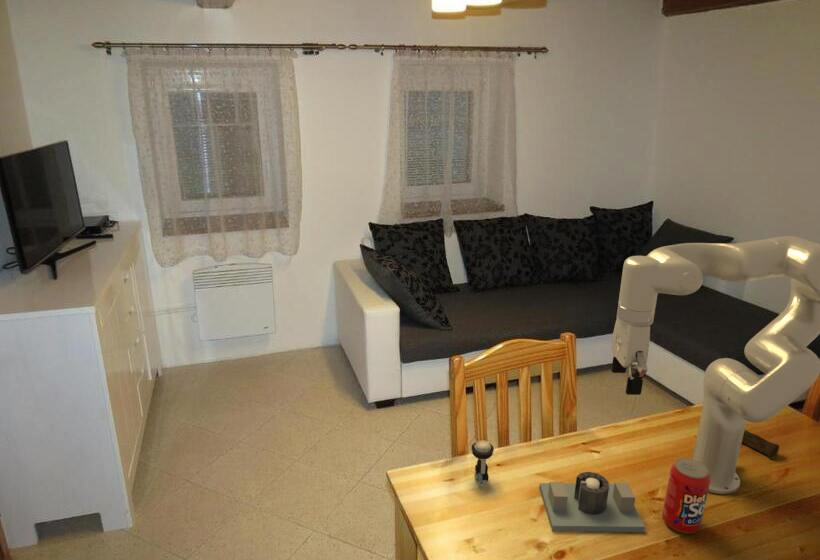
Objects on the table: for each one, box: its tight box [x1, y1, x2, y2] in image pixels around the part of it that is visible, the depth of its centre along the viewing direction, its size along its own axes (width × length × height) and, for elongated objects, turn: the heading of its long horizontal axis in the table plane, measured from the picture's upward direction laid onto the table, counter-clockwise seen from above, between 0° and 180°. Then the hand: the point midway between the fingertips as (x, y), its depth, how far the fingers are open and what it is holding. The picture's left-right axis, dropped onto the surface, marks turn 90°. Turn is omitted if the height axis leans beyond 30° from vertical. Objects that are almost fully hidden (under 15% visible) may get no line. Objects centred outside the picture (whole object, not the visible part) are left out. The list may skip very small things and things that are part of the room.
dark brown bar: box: [742, 429, 780, 459], centre depth 159 cm, size 19×4×5 cm, turn 31°
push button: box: [470, 439, 495, 489], centre depth 142 cm, size 7×5×10 cm
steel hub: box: [574, 471, 610, 515], centre depth 133 cm, size 7×7×6 cm
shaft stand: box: [539, 478, 646, 533], centre depth 133 cm, size 20×14×8 cm
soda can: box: [661, 457, 711, 534], centre depth 128 cm, size 8×8×15 cm
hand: (625, 382), depth 132 cm, fingers open, 9 cm apart
